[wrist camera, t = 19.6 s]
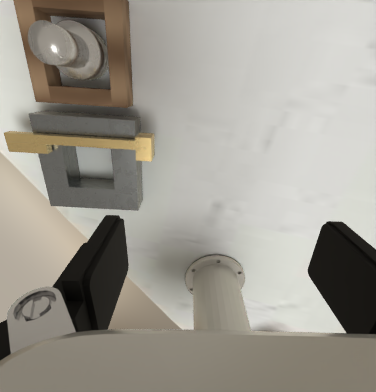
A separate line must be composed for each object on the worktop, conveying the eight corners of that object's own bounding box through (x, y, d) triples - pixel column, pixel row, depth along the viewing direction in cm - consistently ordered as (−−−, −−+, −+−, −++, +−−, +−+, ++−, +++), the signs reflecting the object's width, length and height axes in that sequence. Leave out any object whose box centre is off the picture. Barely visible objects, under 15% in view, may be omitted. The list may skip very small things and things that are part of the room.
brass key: (154, 157, 32) (151, 164, 29) (15, 149, 31) (-1, 155, 29) (154, 133, 30) (151, 138, 28) (8, 124, 30) (-10, 128, 27)
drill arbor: (111, 81, 32) (82, 80, 23) (68, 78, 31) (23, 76, 23) (107, 29, 29) (73, 6, 20) (60, 26, 29) (6, 1, 20)
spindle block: (142, 199, 40) (138, 210, 36) (63, 194, 39) (50, 205, 36) (140, 116, 34) (134, 120, 30) (45, 110, 33) (28, 113, 30)
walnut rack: (133, 105, 33) (127, 107, 30) (50, 100, 33) (35, 101, 29) (128, 1, 28) (120, -10, 24) (29, -7, 27) (9, -19, 24)
